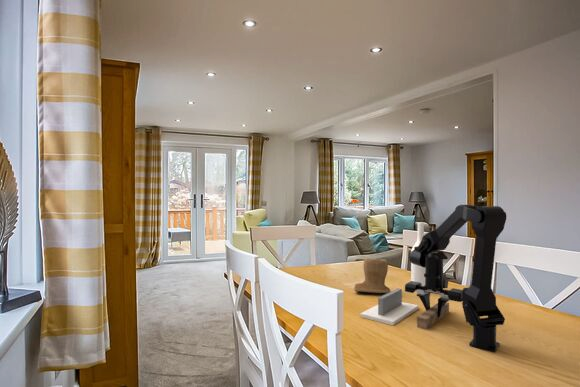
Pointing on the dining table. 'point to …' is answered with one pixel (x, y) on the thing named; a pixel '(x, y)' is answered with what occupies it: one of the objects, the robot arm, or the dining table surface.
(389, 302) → the ridge
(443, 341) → the dining table surface
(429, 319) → the walnut bar
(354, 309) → the dining table surface
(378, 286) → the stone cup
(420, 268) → the bottle
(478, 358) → the dining table surface
